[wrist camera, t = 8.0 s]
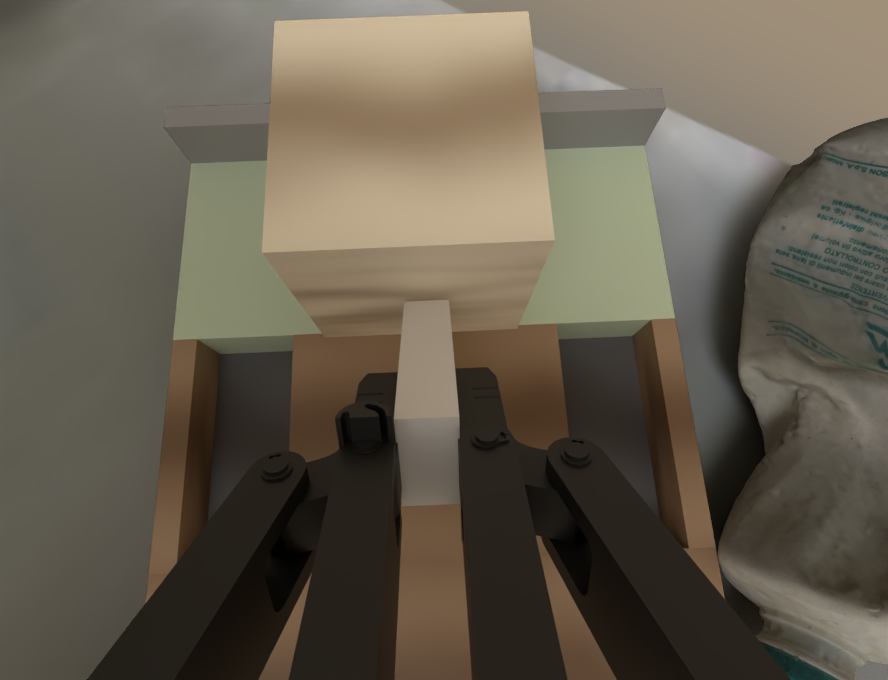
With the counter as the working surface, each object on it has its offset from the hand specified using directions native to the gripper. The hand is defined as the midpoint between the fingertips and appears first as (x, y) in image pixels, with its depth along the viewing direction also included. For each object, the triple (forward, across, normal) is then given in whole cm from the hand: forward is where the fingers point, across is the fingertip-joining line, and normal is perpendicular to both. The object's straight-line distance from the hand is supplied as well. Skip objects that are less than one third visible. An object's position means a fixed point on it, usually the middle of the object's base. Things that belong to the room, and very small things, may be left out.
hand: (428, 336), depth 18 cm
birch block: (+6, 0, +1) cm, 6 cm away
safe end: (+9, 0, 0) cm, 9 cm away
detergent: (+4, +18, -6) cm, 19 cm away
